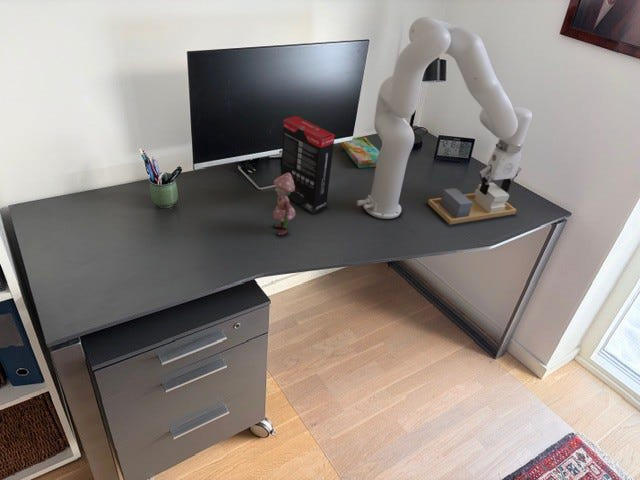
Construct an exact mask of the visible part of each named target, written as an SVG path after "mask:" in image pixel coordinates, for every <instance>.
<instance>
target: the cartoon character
mask: <svg viewBox="0 0 640 480" xmlns="http://www.w3.org/2000/svg"><path fill="white" fill-rule="evenodd" d="M273 185H274V186H275V187H276V188H275V189H274V190H275V191H276V192H275V193H276V195H277V201H276V204H277V205H276V207H275V208H274V210H273V212H272V218H273V219H274V220H276V221H277V222H280V223H277V224H275V225H274V227H275V228H276V229H277V228H278V229H282V230H281V231H280V232H278V236H283V235H284V236H285V235H287V234H288V222H289V221H292V220H293V219H294V218H295V216H296V210H295V209H294V206H292V205H291V203H290V199H289V198H288V197H287V195H289V194H290V193H291V192H293V191H294V190H295V185H294V181H293V178H292V176H291V174H290V173H286V174H283V175H282V176H281V175H279V176H278V177H277V178H275V179H274V181H273Z"/></svg>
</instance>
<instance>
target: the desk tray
mask: <svg viewBox="0 0 640 480" xmlns="http://www.w3.org/2000/svg"><path fill="white" fill-rule="evenodd" d="M474 193H475V192H473V193H466V194H465V193H464V194H463V195H464V196H466V197H467V198H468V199H469V200H470V201H472V202H473V204H472V207H471V211H470V214H469V216H467V217H460V218H454V217H453V216H452V215H451V214H449V213H448V212H447V211H446V210H445V209H444V208H443V207H442V206H441V205H440V202H441V198H442V197H438V198H429V199H428V200H427V201H428V202H427V204H428V205H429V206H430V208H432V209H433V210H434V211H435V212H436V213H437V214H438V215H439V216H440V217H441V218H443V220H444V221H445V222H447V224H448V225H454V224H459V223H465V222H466V223H467V222H473V221H478V220H485V219H490V218H491V219H492V218H498V217H504V216H510V215H516V213H517V209H516V208H515V207H513V206H512V204H510V203H508V201H505V204H504V205H505V206H506V207H505V209H504V211H499V212H492V213H489V212H487V211H486V210H485V209H484V208H483V207H481V206H480V205H479V204H478V203H477V202H476V201H474V199H475V195H474Z"/></svg>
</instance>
